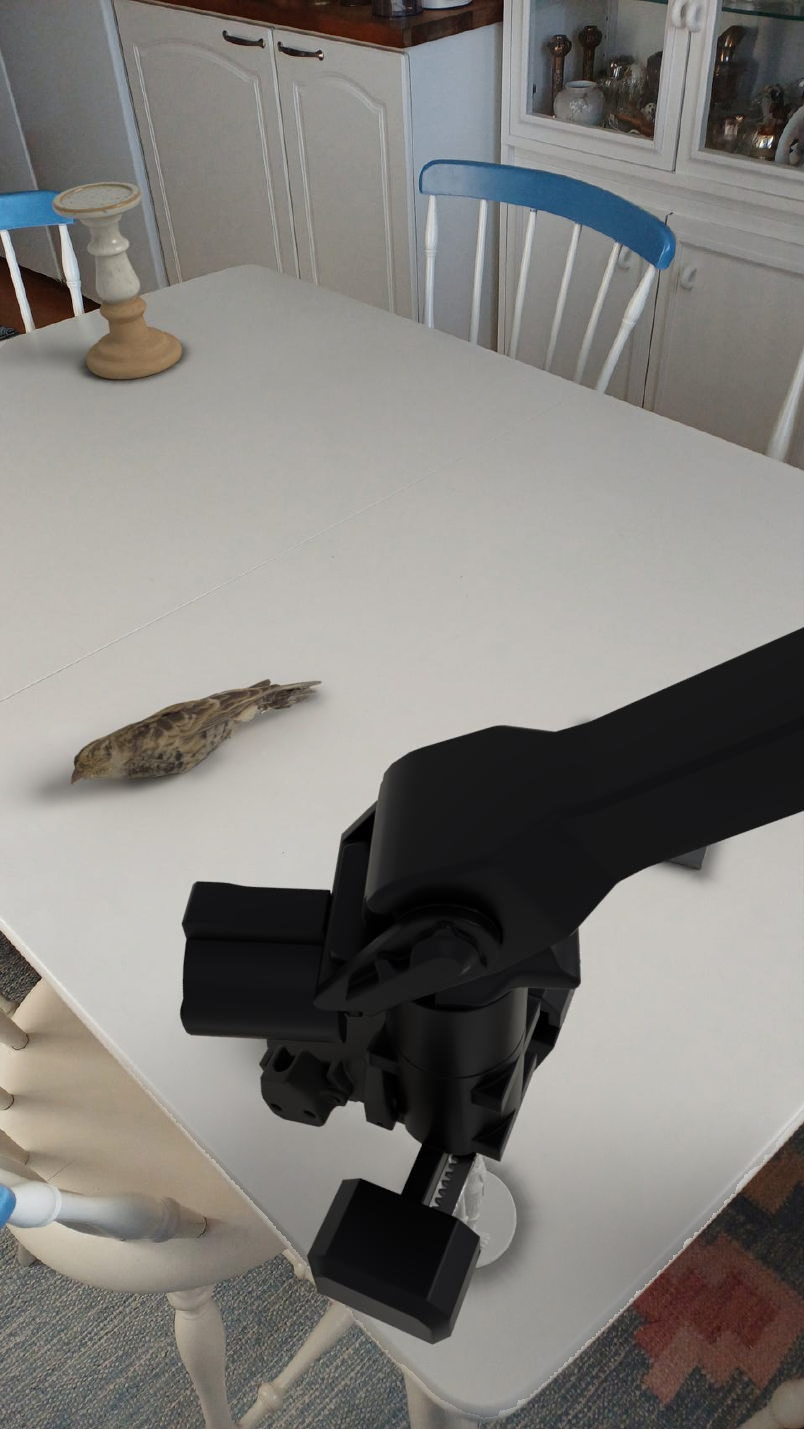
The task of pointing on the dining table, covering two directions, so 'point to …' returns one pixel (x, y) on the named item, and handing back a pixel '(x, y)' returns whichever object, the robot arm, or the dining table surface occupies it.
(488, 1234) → the figurine
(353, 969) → the robot arm
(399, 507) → the dining table surface
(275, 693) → the bird model
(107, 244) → the candle holder
